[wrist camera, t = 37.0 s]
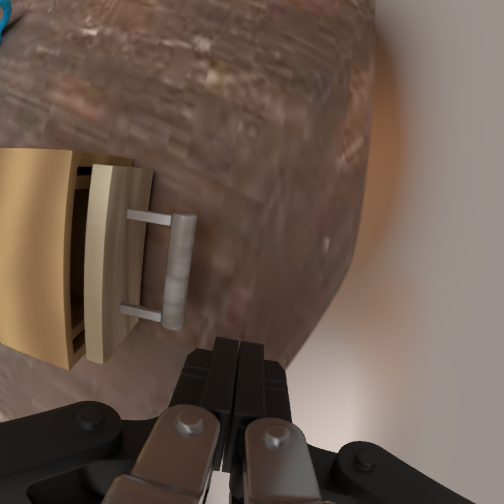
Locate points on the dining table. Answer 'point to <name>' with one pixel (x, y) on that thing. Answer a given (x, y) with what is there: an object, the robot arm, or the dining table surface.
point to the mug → (5, 14)
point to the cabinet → (40, 250)
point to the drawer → (121, 257)
